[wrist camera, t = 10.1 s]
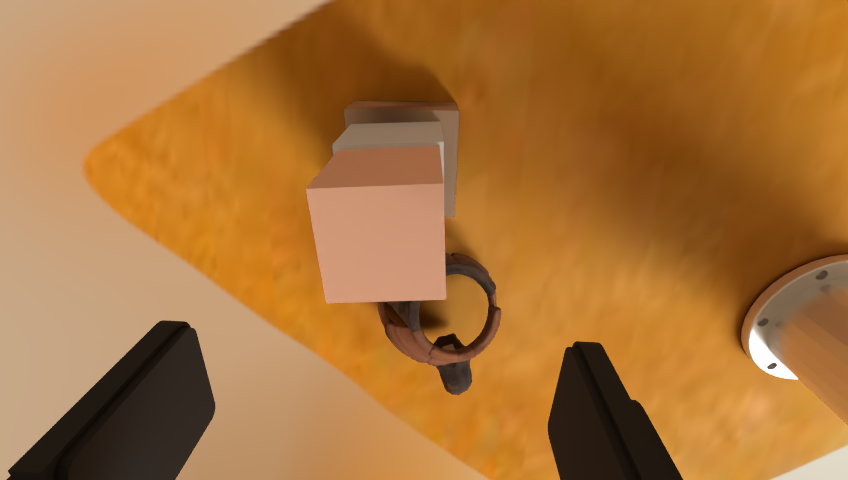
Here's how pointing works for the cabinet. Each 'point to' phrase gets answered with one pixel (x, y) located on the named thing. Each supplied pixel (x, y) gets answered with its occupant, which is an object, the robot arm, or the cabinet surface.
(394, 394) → the cabinet surface
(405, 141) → the greyblue cube
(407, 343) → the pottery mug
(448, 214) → the tan cardboard-coloured box
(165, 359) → the robot arm
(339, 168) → the terracotta block
